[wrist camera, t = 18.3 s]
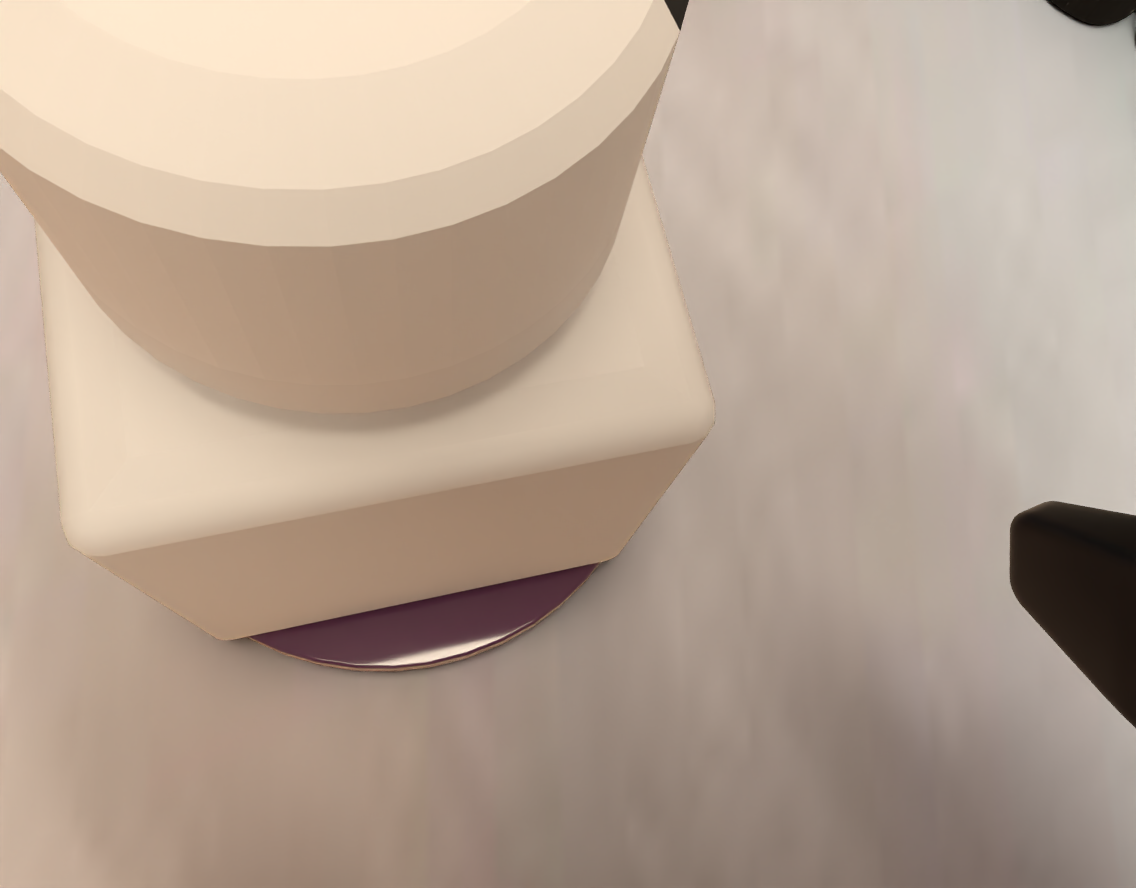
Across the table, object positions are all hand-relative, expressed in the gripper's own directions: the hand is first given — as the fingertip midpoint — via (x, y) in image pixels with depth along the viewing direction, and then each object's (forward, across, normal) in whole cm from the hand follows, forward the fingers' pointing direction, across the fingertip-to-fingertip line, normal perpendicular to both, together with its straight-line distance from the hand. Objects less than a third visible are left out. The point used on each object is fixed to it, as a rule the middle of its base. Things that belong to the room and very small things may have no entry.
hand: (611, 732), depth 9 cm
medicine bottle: (+10, 0, +1) cm, 11 cm away
